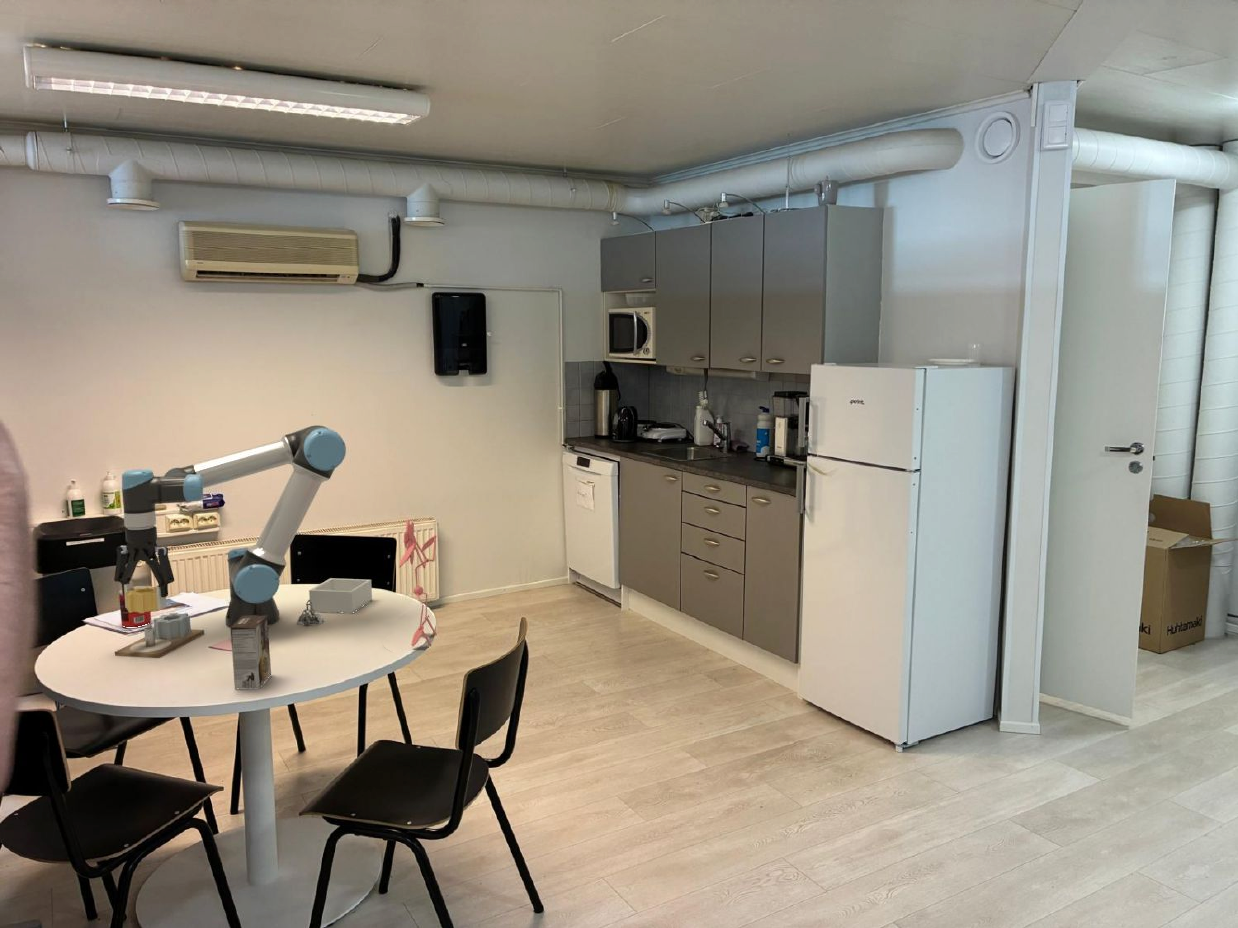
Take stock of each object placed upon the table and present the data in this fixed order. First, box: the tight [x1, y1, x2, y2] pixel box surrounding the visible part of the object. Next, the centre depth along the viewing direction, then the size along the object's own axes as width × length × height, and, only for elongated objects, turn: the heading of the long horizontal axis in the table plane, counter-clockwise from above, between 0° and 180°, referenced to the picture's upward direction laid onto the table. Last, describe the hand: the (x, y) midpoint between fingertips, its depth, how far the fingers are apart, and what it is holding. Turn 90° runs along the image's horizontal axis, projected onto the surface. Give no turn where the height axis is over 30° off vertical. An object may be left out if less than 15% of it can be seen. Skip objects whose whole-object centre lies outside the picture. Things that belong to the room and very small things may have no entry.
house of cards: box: [296, 598, 325, 626], centre depth 261 cm, size 9×9×8 cm
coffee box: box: [230, 615, 272, 690], centre depth 216 cm, size 9×6×16 cm
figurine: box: [398, 519, 443, 647], centre depth 245 cm, size 15×26×35 cm, turn 2°
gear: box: [153, 612, 192, 640], centre depth 250 cm, size 9×9×6 cm
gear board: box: [114, 629, 205, 659], centre depth 245 cm, size 13×20×1 cm, turn 172°
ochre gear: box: [126, 585, 159, 613], centre depth 239 cm, size 9×9×5 cm
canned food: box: [118, 585, 152, 627], centre depth 262 cm, size 8×8×11 cm
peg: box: [144, 623, 156, 647], centre depth 240 cm, size 2×2×6 cm
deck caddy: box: [308, 577, 373, 614], centre depth 280 cm, size 14×14×7 cm
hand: (146, 607), depth 239 cm, fingers closed on ochre gear, 9 cm apart
